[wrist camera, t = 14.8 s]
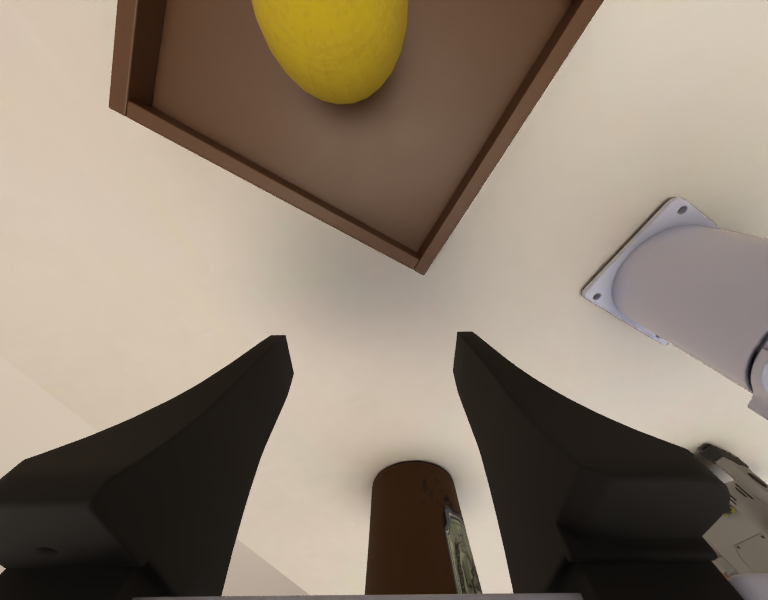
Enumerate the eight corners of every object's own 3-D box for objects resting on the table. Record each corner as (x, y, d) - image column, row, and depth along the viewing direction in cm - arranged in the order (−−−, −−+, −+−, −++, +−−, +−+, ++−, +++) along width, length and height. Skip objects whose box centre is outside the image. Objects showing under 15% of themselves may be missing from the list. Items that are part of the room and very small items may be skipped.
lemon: (386, -43, 12) (390, -340, 5) (411, 101, 15) (437, 37, 7) (274, -2, 13) (136, -215, 6) (315, 130, 15) (253, 96, 8)
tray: (585, 2, 14) (623, -30, 11) (419, 263, 20) (424, 275, 17) (208, -346, 10) (157, -495, 7) (146, 115, 16) (107, 107, 13)
